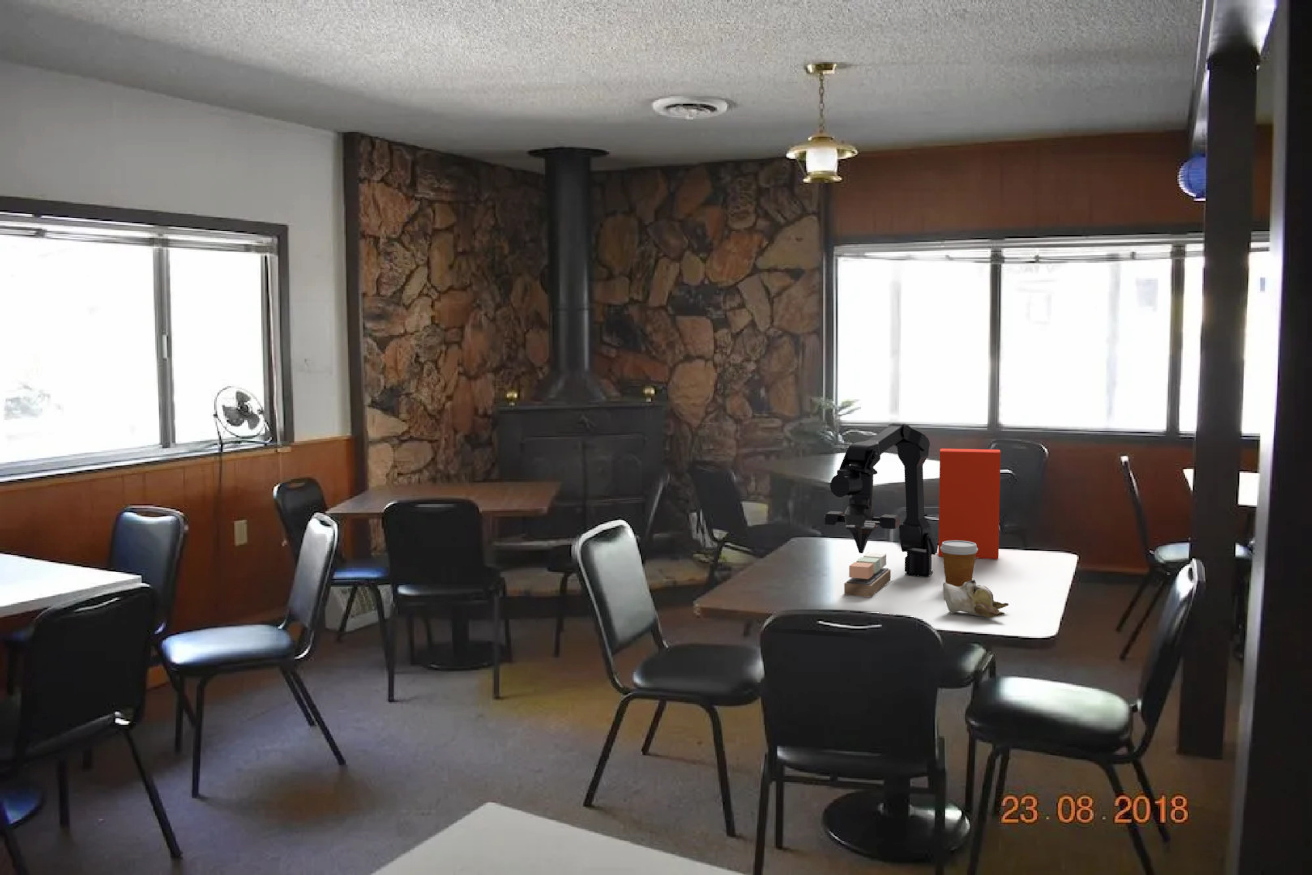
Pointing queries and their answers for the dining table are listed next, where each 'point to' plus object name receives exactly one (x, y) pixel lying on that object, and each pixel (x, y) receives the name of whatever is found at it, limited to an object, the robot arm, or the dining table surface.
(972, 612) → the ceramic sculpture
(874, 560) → the key sage
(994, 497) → the file binder
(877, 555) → the key white
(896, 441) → the robot arm
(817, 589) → the dining table surface
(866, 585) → the key panel
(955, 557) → the disposable coffee cup
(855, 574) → the key terracotta
